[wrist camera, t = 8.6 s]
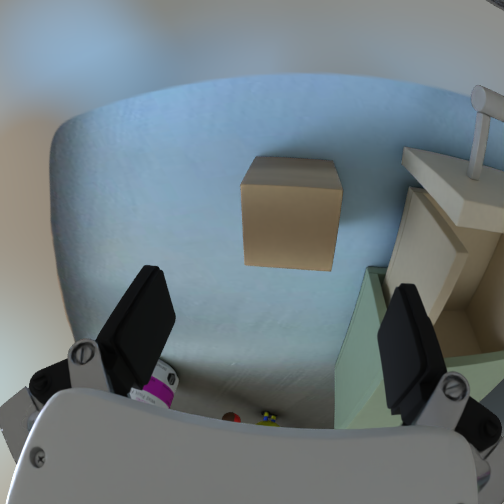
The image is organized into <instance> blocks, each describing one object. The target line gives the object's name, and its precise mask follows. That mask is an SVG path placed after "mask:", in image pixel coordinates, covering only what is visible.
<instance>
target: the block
mask: <svg viewBox="0 0 504 504" xmlns="http://www.w3.org/2000/svg"><path fill="white" fill-rule="evenodd" d="M240 187H241V207H242V226H243V245H244V263H245V265H248V266H261V267H274V268H287V269H301V270H316V271H331V269H332V264H333V258H334V252H335V246H336V240H337V233H338V227H339V220H340V213H341V205H342V197H343V188H342V185H341V182H340V179H339V176H338V173H337V171H336V168H335V165H334V162H333V161H331V160H319V159H305V158H287V157H258V156H256V157H255V159H254V160H253V162H252V164H251V166H250V168H249V169H248V171H247V173H246V175H245V177H244V179H243V180H242V182H241V184H240Z"/></svg>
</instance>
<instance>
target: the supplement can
mask: <svg viewBox="0 0 504 504" xmlns="http://www.w3.org/2000/svg"><path fill="white" fill-rule="evenodd" d="M178 383H179V379H178V377H177V376H176V373H175V371H174V370H173V369H172V368H171V367H170V366H169V365H168V364H166V363H165V362H163V361H161V360H160V359H159V360H158V362H157V364H156V367H155V369H154V371H153V374H152V376H151V379H150V381H149V383H148V384H147V385H144V387H143V390H142V391H141V390H138V389H134V388H131V391H130V396H131V399H134V400H137V401H141V402H144V403H148V404H152V405H155V406H159V407H163V408H167V409H169V408H170V406H171V403H172V400H173V397H174V394H175V391H176V389H177V386H178Z"/></svg>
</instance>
